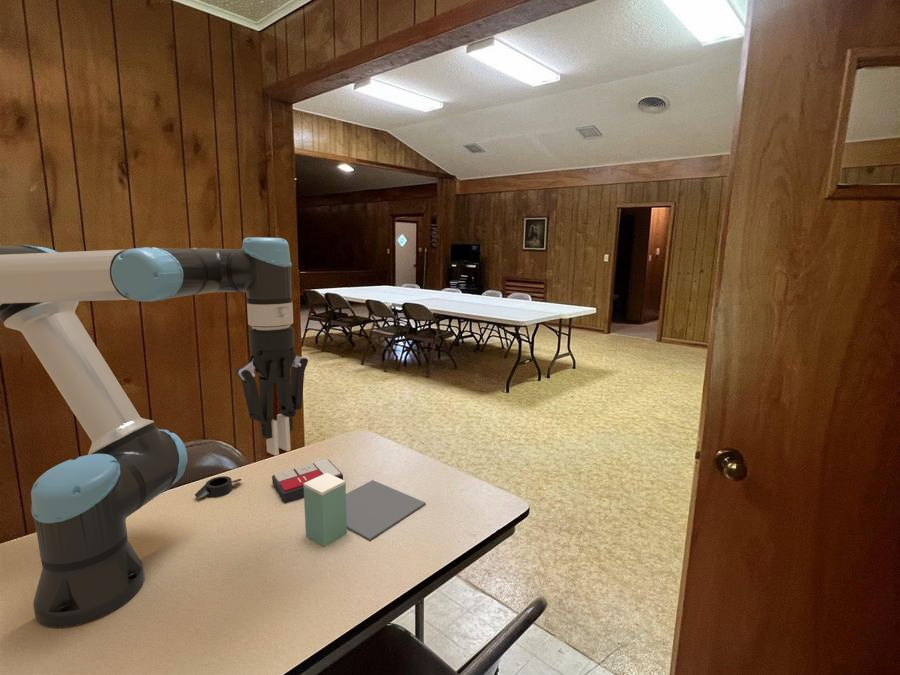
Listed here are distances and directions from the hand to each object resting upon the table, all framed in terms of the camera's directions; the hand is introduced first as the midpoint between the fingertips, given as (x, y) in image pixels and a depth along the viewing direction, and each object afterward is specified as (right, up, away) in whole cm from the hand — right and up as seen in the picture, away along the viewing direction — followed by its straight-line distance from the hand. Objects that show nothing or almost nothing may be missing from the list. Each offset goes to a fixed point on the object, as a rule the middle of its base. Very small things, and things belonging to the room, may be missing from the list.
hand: (278, 450), depth 87 cm
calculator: (-4, -17, +32) cm, 37 cm away
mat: (+14, -19, +22) cm, 32 cm away
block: (+6, -21, +12) cm, 25 cm away
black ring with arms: (-25, -18, +29) cm, 42 cm away
